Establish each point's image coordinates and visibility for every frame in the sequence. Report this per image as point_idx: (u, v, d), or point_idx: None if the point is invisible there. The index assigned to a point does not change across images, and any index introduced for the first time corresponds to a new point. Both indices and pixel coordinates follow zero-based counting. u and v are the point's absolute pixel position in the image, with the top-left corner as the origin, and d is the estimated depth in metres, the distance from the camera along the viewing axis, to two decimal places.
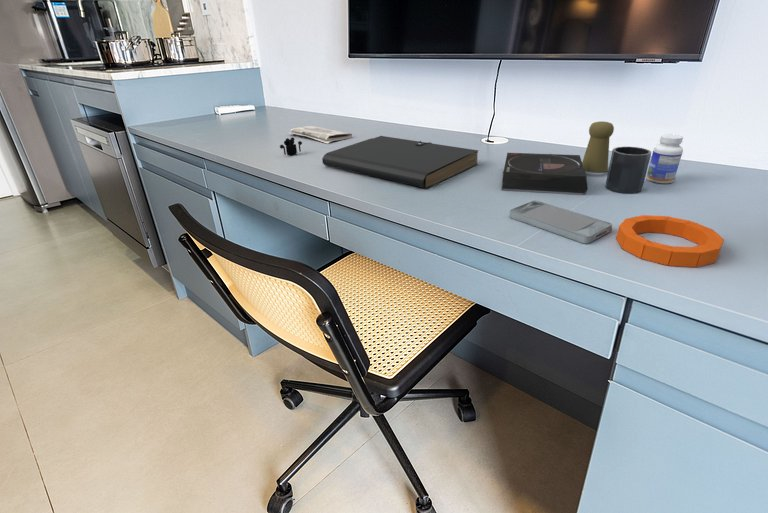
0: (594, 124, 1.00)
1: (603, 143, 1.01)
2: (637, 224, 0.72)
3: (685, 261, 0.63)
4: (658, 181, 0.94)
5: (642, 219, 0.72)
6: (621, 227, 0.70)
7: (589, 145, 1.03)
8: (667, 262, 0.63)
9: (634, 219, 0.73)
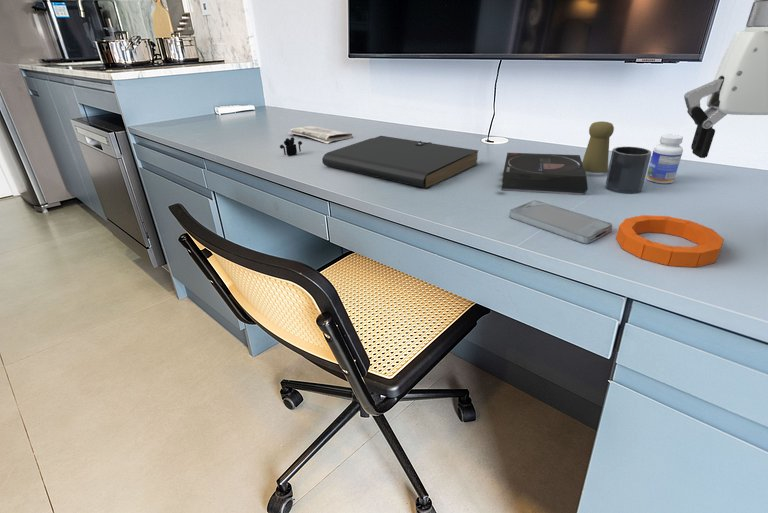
0: (594, 124, 1.00)
1: (603, 143, 1.01)
2: (637, 224, 0.72)
3: (685, 261, 0.63)
4: (658, 181, 0.94)
5: (642, 219, 0.72)
6: (621, 227, 0.70)
7: (589, 145, 1.03)
8: (667, 262, 0.63)
9: (634, 219, 0.73)
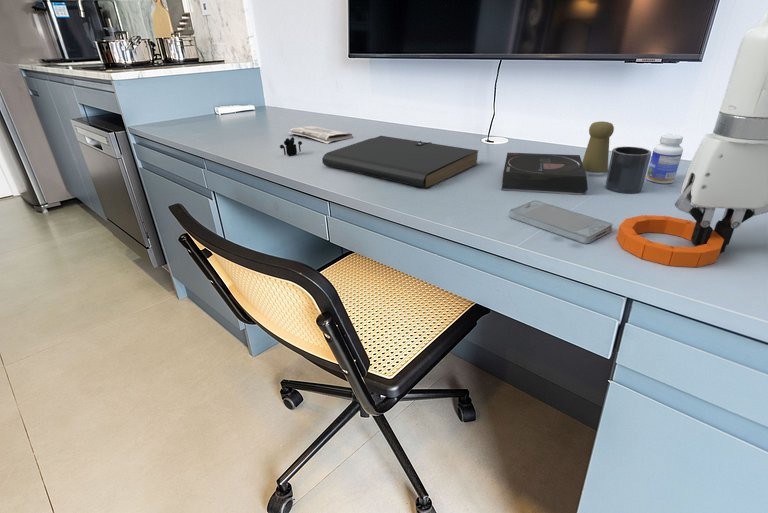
0: (594, 124, 1.00)
1: (603, 143, 1.01)
2: (637, 224, 0.72)
3: (685, 261, 0.63)
4: (658, 181, 0.94)
5: (642, 219, 0.72)
6: (621, 227, 0.70)
7: (589, 145, 1.03)
8: (667, 262, 0.63)
9: (634, 219, 0.73)
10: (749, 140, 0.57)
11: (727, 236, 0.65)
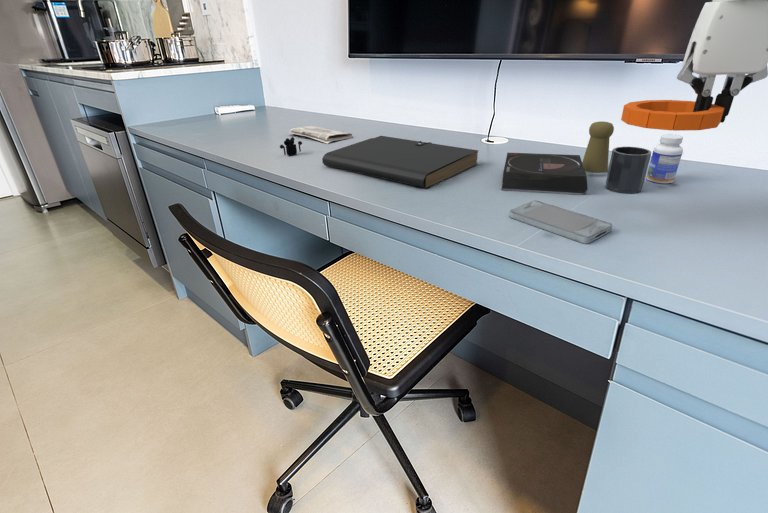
0: (594, 124, 1.00)
1: (603, 143, 1.01)
2: (641, 106, 0.75)
3: (689, 124, 0.65)
4: (658, 181, 0.94)
5: (645, 102, 0.75)
6: (626, 106, 0.73)
7: (589, 145, 1.03)
8: (671, 127, 0.66)
9: (638, 102, 0.75)
10: None
11: (727, 104, 0.68)
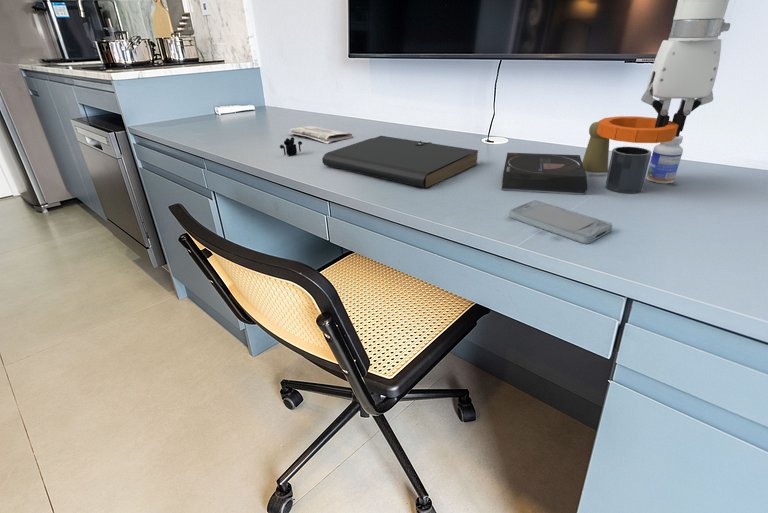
0: (594, 124, 1.00)
1: (603, 143, 1.01)
2: (613, 121, 0.91)
3: (647, 138, 0.81)
4: (658, 181, 0.94)
5: (617, 118, 0.91)
6: (600, 121, 0.89)
7: (589, 145, 1.03)
8: (634, 140, 0.82)
9: (611, 118, 0.91)
10: (693, 37, 0.76)
11: (681, 122, 0.84)
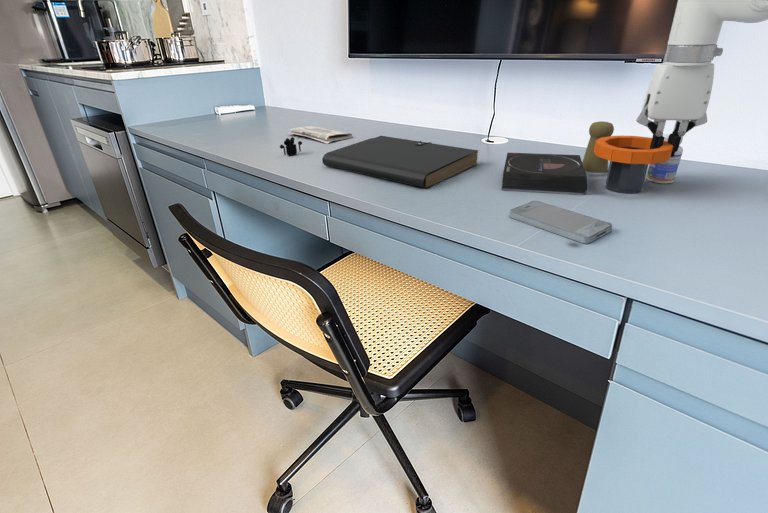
0: (594, 124, 1.00)
1: None
2: (610, 141, 0.93)
3: (643, 159, 0.83)
4: (658, 181, 0.94)
5: (614, 137, 0.93)
6: (597, 141, 0.91)
7: (589, 145, 1.03)
8: (629, 161, 0.84)
9: (607, 137, 0.93)
10: (686, 62, 0.77)
11: (676, 143, 0.85)
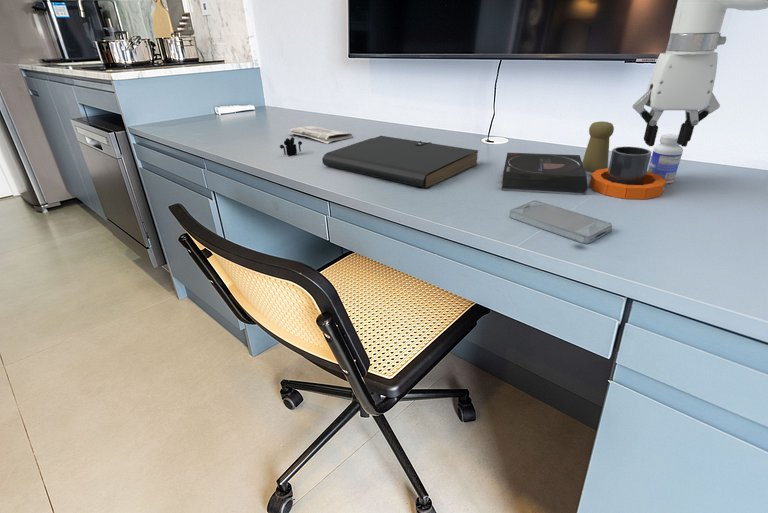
0: (594, 124, 1.00)
1: (603, 143, 1.01)
2: (605, 173, 0.96)
3: (636, 195, 0.86)
4: None
5: None
6: (592, 175, 0.94)
7: (589, 145, 1.03)
8: (624, 196, 0.87)
9: (603, 170, 0.96)
10: (689, 51, 0.77)
11: (688, 132, 0.84)
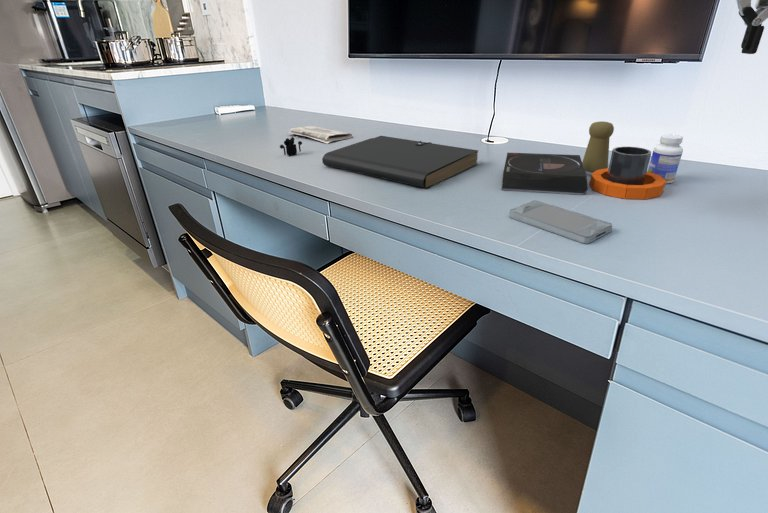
0: (594, 124, 1.00)
1: (603, 143, 1.01)
2: (605, 173, 0.96)
3: (636, 195, 0.86)
4: None
5: None
6: (592, 175, 0.94)
7: (589, 145, 1.03)
8: (624, 196, 0.87)
9: (603, 170, 0.96)
10: None
11: None
